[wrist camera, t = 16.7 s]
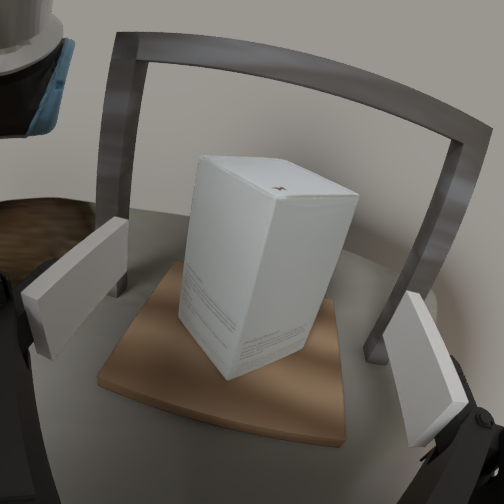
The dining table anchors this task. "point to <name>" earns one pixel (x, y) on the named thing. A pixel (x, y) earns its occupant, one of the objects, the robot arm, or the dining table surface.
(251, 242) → the supplement box
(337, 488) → the dining table surface
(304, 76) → the keeper arch
